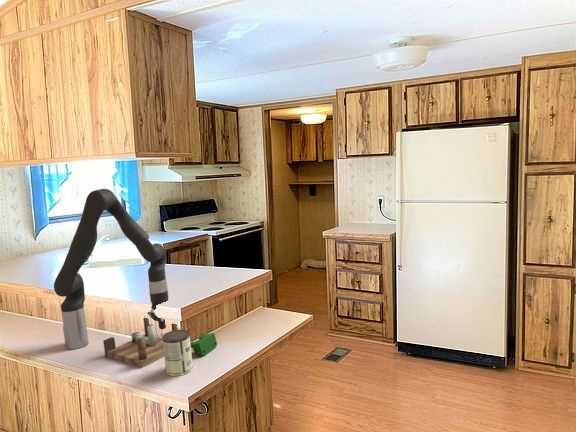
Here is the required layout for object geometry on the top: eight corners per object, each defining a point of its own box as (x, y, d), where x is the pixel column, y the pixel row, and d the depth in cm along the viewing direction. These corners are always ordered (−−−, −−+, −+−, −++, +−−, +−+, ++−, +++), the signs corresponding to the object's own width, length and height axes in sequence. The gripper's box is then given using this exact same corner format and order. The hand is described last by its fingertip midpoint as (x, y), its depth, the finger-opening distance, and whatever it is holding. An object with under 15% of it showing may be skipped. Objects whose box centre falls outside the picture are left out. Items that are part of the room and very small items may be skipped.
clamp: (206, 356, 191) (205, 334, 194) (217, 355, 189) (216, 333, 192) (187, 357, 181) (187, 334, 184) (199, 355, 179) (198, 332, 182)
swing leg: (130, 340, 196) (128, 323, 195) (136, 338, 198) (134, 320, 197) (152, 346, 188) (150, 328, 187) (158, 343, 191) (156, 325, 190)
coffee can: (169, 364, 176) (165, 330, 174) (195, 362, 176) (192, 328, 174) (162, 377, 165) (158, 341, 164) (190, 375, 166) (187, 338, 164)
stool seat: (105, 356, 188) (102, 332, 186) (147, 337, 206) (144, 315, 205) (142, 367, 175) (140, 341, 173) (184, 346, 193) (181, 322, 192)
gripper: (164, 285, 200) (168, 322, 202) (140, 293, 189) (144, 332, 191) (176, 286, 196) (180, 324, 198) (152, 295, 185) (156, 335, 187)
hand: (162, 328), depth 194 cm, fingers closed
